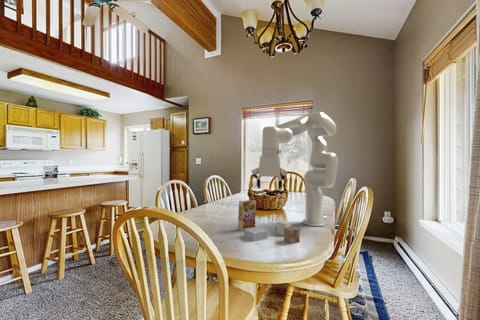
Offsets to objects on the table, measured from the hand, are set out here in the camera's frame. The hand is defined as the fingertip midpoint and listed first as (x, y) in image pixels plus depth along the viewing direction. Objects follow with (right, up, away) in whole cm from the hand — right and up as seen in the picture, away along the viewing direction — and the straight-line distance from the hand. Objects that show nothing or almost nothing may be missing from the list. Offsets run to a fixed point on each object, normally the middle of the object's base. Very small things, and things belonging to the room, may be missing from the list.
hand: (269, 188), depth 111 cm
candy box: (-10, -24, +14) cm, 29 cm away
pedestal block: (-6, -24, +1) cm, 25 cm away
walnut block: (+10, -24, -3) cm, 26 cm away
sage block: (+8, -24, +7) cm, 26 cm away
